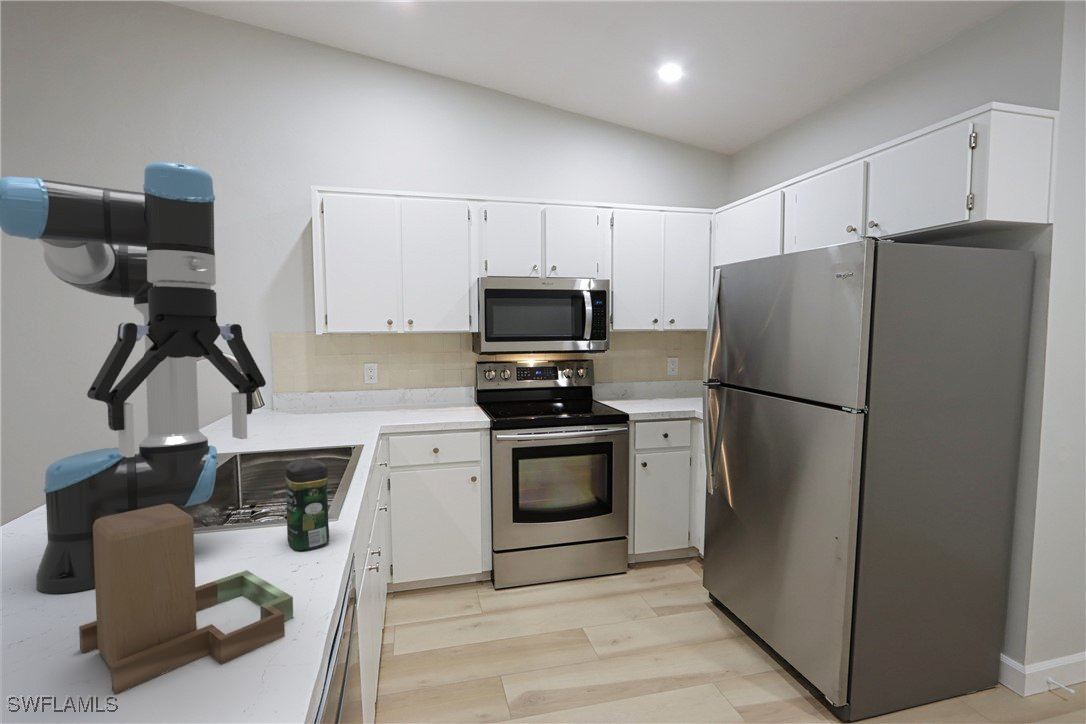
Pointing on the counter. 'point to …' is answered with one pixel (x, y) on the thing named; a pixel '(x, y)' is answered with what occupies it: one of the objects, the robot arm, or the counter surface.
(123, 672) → the trap lane
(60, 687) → the counter surface
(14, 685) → the counter surface
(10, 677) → the counter surface
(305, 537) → the coffee jar
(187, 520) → the block
